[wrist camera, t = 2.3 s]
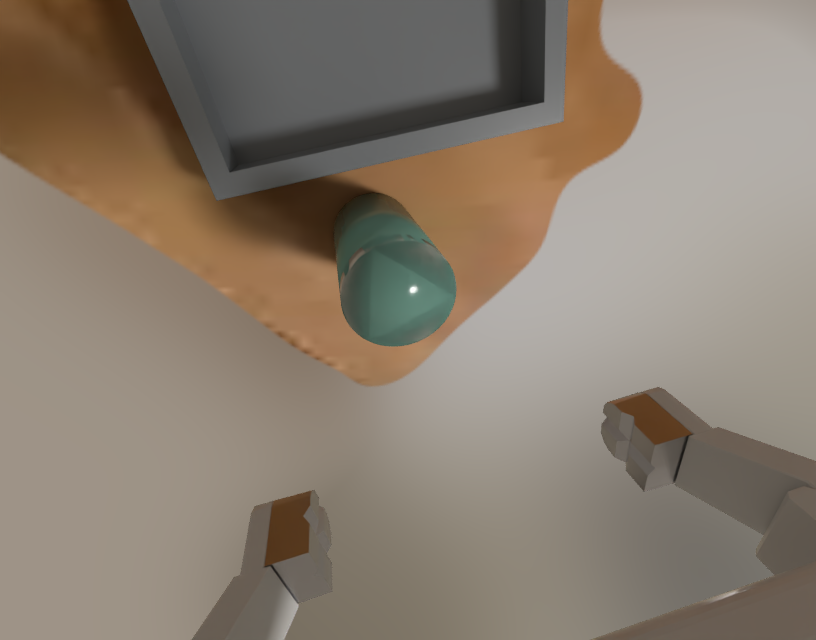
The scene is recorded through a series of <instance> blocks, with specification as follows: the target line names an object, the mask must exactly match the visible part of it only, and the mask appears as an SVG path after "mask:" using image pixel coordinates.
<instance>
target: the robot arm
mask: <svg viewBox="0 0 816 640" xmlns="http://www.w3.org/2000/svg"><path fill="white" fill-rule="evenodd" d="M603 413H604V414H605V415H606V416H607V418H606V419H605V420H604V422H603V423H602V426H601V434H602V437H603V440H604V443H605V444H606V446H607V448H608V450H609V451H610V452H611V453H612V454H613V456H614V457H616V458H618V459H620V460H622V461H624V462H626V471H627V472H628V474H629V475H630V476H631V477H632V478H633V479H634V481H635V482H636V483H637V484H638V485H639V486H640V488H641V489H642V490H643V491H644V492H645V491H648V490H652V489H656V488H659V487H663V486H666V485H669V484H673V483H675V485H676V486H678V487H679V488H681V489H683V490H684V491H686V492H688V493H690V494H692V495H693V496H695V497H697V498H699V499H701V500H702V501H704V502H706V503H708V504H709V505H711V506H713V507H715V508H716V509H718V510H720V511H722V512H724V513H725V514H727V515H729V516H731V517H733V518H734V519H736V520H738V521H740V522H741V523H743V524H745V525H747V526H748V527H750V528H752V529H754V530H756V531H757V532H759V533H761V534H763V535H764V536H763V537H762V539H761V541H760V543H759V545H758V546H757V548H756V556H757V558H759V560H760V561H761V562H762V563H763V564H764V565H765V566H766V567H767V568H768V569H769V570H770V571H771V572H772V573H773V574H774V576H772V577H769V578H766V579H763V580H760V581H757V582H754V583H751V584H749V585H746V586H743V587H740V588H737V589H734V590H732V591H729V592H726V593H723V594H720V595H717V596H714V597H711V598H709V599H706V600H703V601H700V602H697V603H694V604H692V605H689V606H686V607H683V608H680V609H677V610H674V611H671V612H669V613H666V614H663V615H660V616H657V617H655V618H652V619H649V620H646V621H643V622H640V623H637V624H634V625H631V626H629V627H626V628H623V629H620V630H617V631H614V632H612V633H609V634H606V635H603V636H600V637H597V638H594V639H591V640H816V461H814V460H811V459H808V458H806V457H803V456H800V455H797V454H794V453H791V452H788V451H785V450H783V449H779V448H777V447H774V446H771V445H768V444H765V443H762V442H760V441H756V440H754V439H751V438H748V437H745V436H742V435H739V434H737V433H733V432H730V431H728V430H725V429H722V428H719V427H717V428H712V427H710V426H709V425H708V424H707V423H705V422H704V421H703V420H702V419H700V418H699V417H698V416H696V415H695V414H694V413H693V412H692V411H691V410H689V409H688V408H687V407H686V406H684V405H683V404H682V403H681V402H679V401H678V400H677V399H676V398H674V397H673V396H672V395H671V394H669V393H668V392H667V391H666V390H664V389H662V388H659V387H657V388H653V389H650V390H646V391H643V392H640V393H635V394H632V395H629V396H626V397H622V398H619V399H616V400H613V401H610V402H607V403H606V404H605V405H604V409H603ZM330 547H331V531H330V524H329V520H328V516H327V513H326V511H325V509H324V508H323V507H321V506H319V497H318V495H317V494H316V492H315V490H312V491H309V492H305V493H301V494H297V495H294V496H290V497H286V498H282V499H279V500H275V501H272V502H268V503H265V504H261V505H258V506H255V507H254V509H253V511H252V513H251V517H250V522H249V528H248V535H247V540H246V545H245V551H244V556H243V562H242V568H241V574H240V575H239V576H236V577H234V578H233V579H232V581H231V582H230V584H229V586H228V587H227V588H226V590H225V591H224V593H223V594H222V596H221V597H220V599H219V600H218V602H217V603H216V605H215V606H214V608H213V609H212V611H211V612H210V613H209V615H208V616H207V618H206V619H205V621H204V622H203V624H202V625H201V627H200V628H199V630H198V631H197V633H196V634H195V636H194V637H193V639H192V640H284V638H285V636H286V634H287V631H288V629H289V627H290V625H291V623H292V620H293V618H294V616H295V613H296V611H297V609H298V606H299V605H298V603H301V602H304V601H307V600H310V599H312V598H315V597H318V596H321V595H324V594H326V593H329V592H332V562H331V561H330V559H329V557H328V555H327V552H328V550H329V548H330Z"/></svg>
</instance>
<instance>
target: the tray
mask: <svg viewBox="0 0 816 640" xmlns="http://www.w3.org/2000/svg"><path fill="white" fill-rule="evenodd" d="M127 1H128V3H129V5H130V8H131V10H132V12H133V14H134V17H135V19H136V21H137V23H138V26H139V28H140V30H141V32H142V35H143V37H144V39H145V41H146V43H147V46H148V48H149V50H150V52H151V55H152V57H153V59H154V61H155V64H156V66H157V68H158V70H159V73H160V75H161V77H162V79H163V82H164V84H165V86H166V88H167V91H168V93H169V95H170V97H171V100H172V102H173V104H174V106H175V109H176V111H177V113H178V115H179V118H180V120H181V122H182V124H183V127H184V129H185V131H186V133H187V135H188V138H189V140H190V142H191V144H192V147H193V149H194V151H195V153H196V156H197V158H198V160H199V162H200V165H201V167H202V169H203V171H204V174H205V176H206V178H207V180H208V183H209V185H210V187H211V189H212V192H213V194H214V196H215V198H216V201H218V200H222V199H227V198H231V197H235V196H240V195H244V194H249V193H253V192H257V191H262V190H266V189H270V188H275V187H279V186H284V185H288V184H292V183H297V182H301V181H305V180H310V179H314V178H319V177H323V176H327V175H332V174H336V173H340V172H345V171H349V170H354V169H358V168H362V167H367V166H371V165H375V164H380V163H384V162H389V161H393V160H397V159H402V158H406V157H410V156H415V155H419V154H424V153H428V152H432V151H437V150H441V149H445V148H450V147H454V146H459V145H463V144H467V143H472V142H476V141H480V140H485V139H489V138H494V137H498V136H502V135H507V134H511V133H515V132H520V131H524V130H529V129H533V128H537V127H542V126H546V125H551V124H555V123H559V122H563V119H564V93H565V67H566V41H567V15H568V0H127Z"/></svg>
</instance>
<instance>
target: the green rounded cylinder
mask: <svg viewBox="0 0 816 640" xmlns="http://www.w3.org/2000/svg"><path fill="white" fill-rule="evenodd" d="M333 234H334V244H335V253H336V262H337V271H338V280H339V289H340V298H341V306H342V311H343V314H344V316H345V319H346V320H347V322H348V324H349V325H350V327H351V328H352V329H353V330H354V331H355V332H356V333H357V334H358V335H360V336H361V337H362V338H364V339H366V340H368V341H370V342H372V343H375V344H379V345H383V346H404V345H409V344H412V343H415V342H418V341H420V340H422V339H424V338H426V337H428V336H429V335H431V334H432V333H434V332H435V331H436V330H437V329H438V328H439V327H440V326H441V325H442V324H443V323H444V322H445V320H446V319H447V317H448V316H449V314H450V312H451V310H452V308H453V305H454V302H455V297H456V281H455V276H454V273H453V270H452V268H451V266H450V265H449V263H448V262H447V260H446V259H445V258H444V257H443V255H442V254H441V253H440V252H439V250H438V249H437V248H436V247H435V245H434V244H433V243H432V242H431V240H430V239H429V238H428V237H427V235H426V234H425V233H424V232H423V230H422V229H421V228H420V227H419V225H418V224H417V223H416V222H415V220H414V219H413V218H412V217H411V215H410V214H409V213H408V212H407V210H406V209H405V208H404V207H403V206H402V205H401V204H400V203H399V202H398V201H397V200H395V199H394V198H392V197H390V196H387V195H384V194H378V193H369V194H364V195H360V196H358V197H356V198H354V199H352V200H351V201H349V202H348V203H347V204H346V205H345V206H344V207H343V208H342V209H341V211H340V212H339V214H338V216H337V218H336V221H335V224H334V233H333Z"/></svg>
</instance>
